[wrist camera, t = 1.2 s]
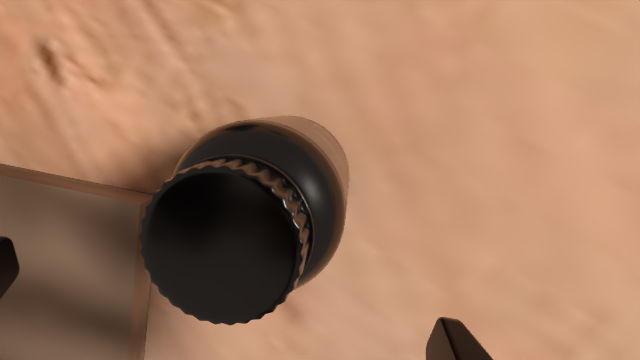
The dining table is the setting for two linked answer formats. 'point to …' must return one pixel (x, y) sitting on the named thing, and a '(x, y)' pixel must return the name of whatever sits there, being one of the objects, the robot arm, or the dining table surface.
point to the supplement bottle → (246, 218)
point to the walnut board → (73, 269)
